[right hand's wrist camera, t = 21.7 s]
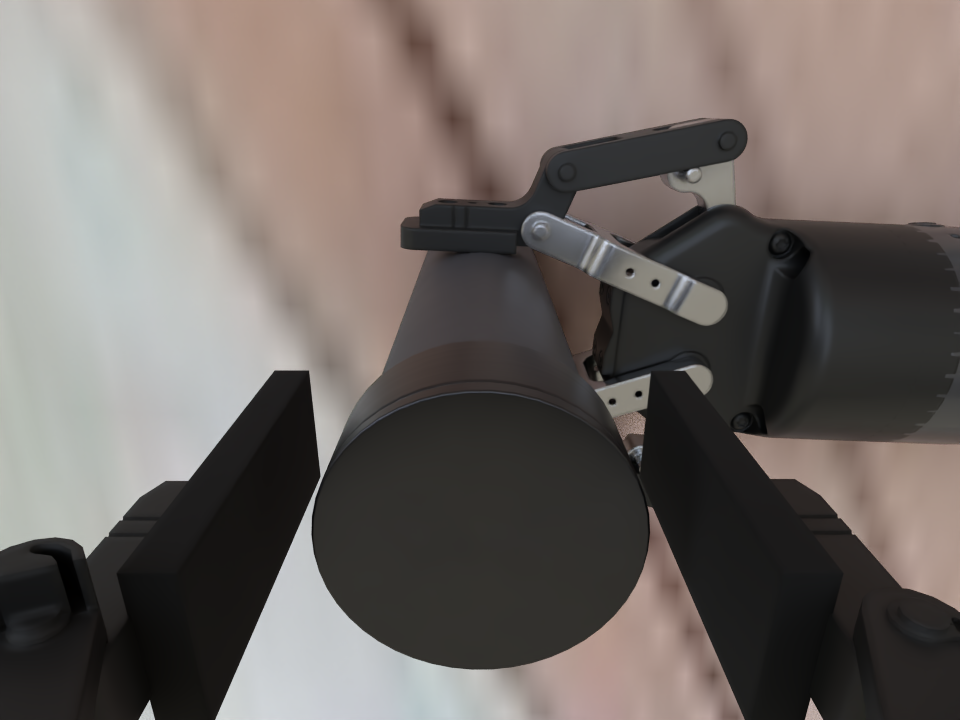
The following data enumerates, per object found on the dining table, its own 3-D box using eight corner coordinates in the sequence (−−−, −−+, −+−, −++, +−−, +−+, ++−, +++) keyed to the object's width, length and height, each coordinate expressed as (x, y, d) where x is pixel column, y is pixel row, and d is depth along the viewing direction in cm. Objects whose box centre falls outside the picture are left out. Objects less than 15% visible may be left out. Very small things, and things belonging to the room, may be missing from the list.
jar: (491, 190, 26) (509, 328, 10) (558, 282, 28) (672, 534, 11) (401, 262, 28) (283, 491, 11) (470, 345, 29) (457, 660, 13)
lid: (656, 367, 12) (695, 425, 10) (582, 600, 14) (601, 689, 12) (356, 313, 11) (328, 361, 9) (326, 561, 13) (297, 646, 11)
